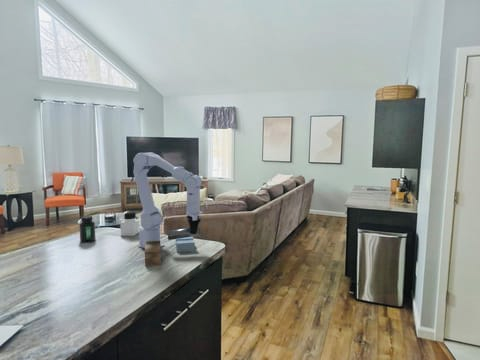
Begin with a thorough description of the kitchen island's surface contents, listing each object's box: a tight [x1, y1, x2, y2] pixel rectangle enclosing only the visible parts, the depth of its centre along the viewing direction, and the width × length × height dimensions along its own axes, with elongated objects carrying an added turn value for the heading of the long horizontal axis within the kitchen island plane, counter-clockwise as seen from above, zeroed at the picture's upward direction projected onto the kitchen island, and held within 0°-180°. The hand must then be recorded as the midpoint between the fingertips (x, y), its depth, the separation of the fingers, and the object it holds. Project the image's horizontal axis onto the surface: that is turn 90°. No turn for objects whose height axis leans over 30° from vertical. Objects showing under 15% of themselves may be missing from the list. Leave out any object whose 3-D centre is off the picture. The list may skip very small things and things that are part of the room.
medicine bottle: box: [119, 210, 140, 237], centre depth 168 cm, size 7×7×12 cm
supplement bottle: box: [78, 215, 96, 244], centre depth 156 cm, size 7×7×12 cm
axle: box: [166, 226, 201, 241], centre depth 141 cm, size 14×4×4 cm, turn 103°
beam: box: [144, 240, 162, 267], centre depth 133 cm, size 6×14×6 cm, turn 14°
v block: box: [175, 236, 196, 253], centre depth 148 cm, size 8×10×4 cm
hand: (193, 232), depth 142 cm, fingers closed on axle, 4 cm apart
